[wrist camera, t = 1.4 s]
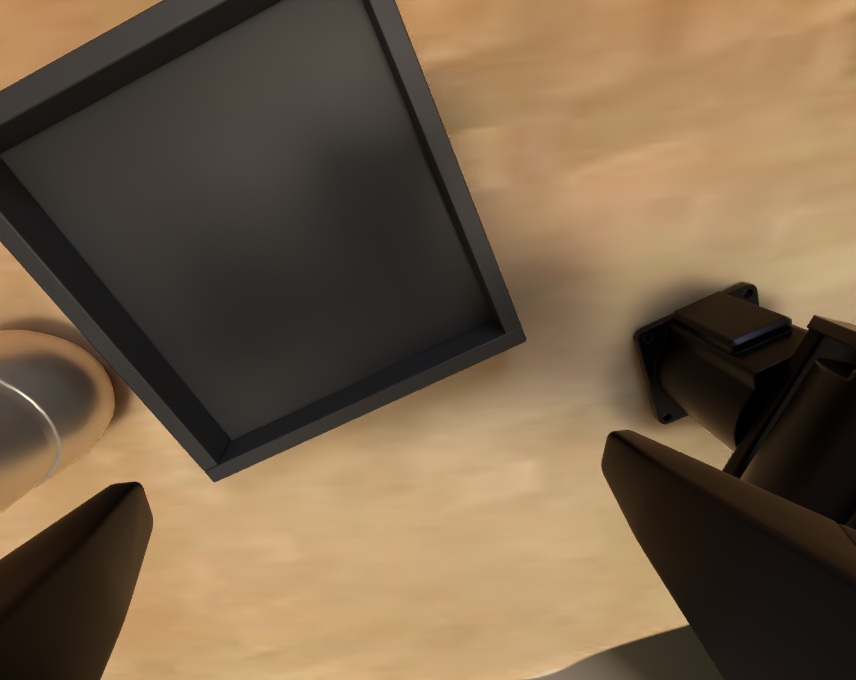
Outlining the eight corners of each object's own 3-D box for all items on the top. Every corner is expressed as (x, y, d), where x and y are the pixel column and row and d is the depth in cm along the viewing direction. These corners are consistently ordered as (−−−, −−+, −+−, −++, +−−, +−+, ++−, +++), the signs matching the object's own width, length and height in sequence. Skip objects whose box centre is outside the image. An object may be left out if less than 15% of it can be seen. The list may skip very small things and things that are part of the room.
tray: (511, 322, 22) (527, 341, 19) (230, 451, 23) (213, 483, 20) (357, -66, 15) (353, -108, 13) (-25, 143, 16) (-91, 140, 14)
